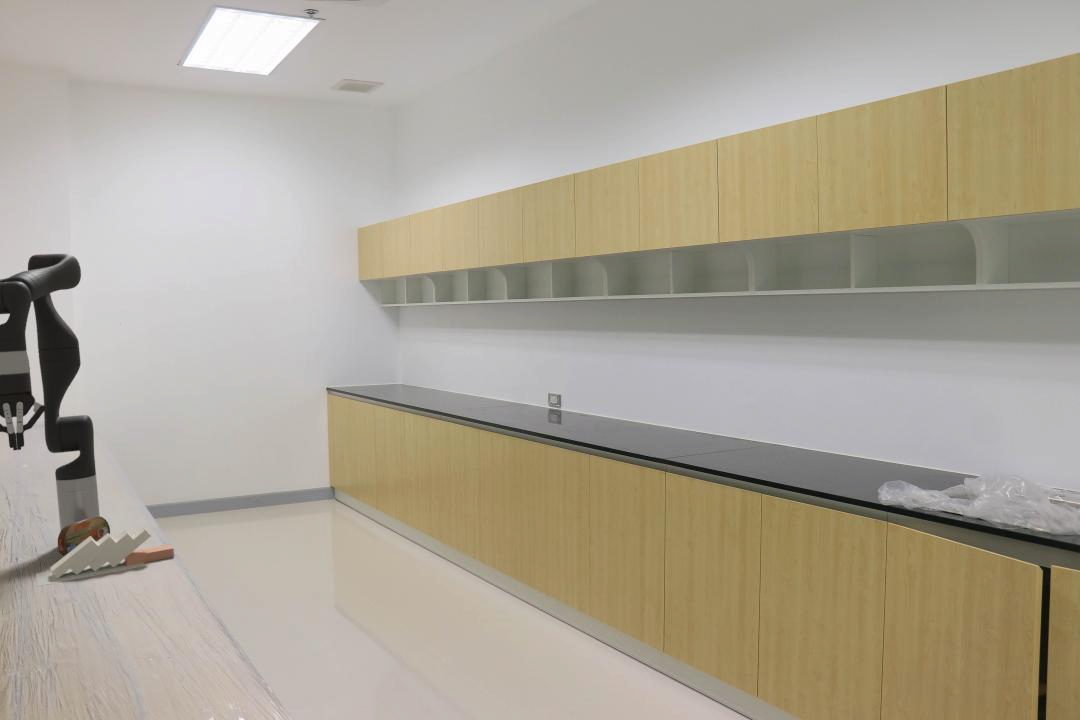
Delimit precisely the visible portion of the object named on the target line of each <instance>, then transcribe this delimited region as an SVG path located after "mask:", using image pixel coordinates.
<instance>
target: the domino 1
mask: <svg viewBox="0 0 1080 720" xmlns="http://www.w3.org/2000/svg"><path fill="white" fill-rule="evenodd" d="M97 547H98V545H97V542H96V541H95V540H94V539H93V538H92V537H91V536H90V537H88V538H87V539H86V540H84V541H83V542H82V543H81V544H79V545H78V546H77V547H76V548H74V549H73V550H72V551H71V552H69V553H68V554H67V555H66V556H64V557H63V556H62V558H60V559H59V560H58V561H57V562H55V563H53V565H51V566H50V571H51V573H52V574H53V575H54V576H55V577H56V578H57V579H58V578H59V577H60V576H62V575H63V574H64V573H65V572H67V571H68V570H69V569H70V568H72V567H73V566H74V565H75V564H77V563H78V562H79V561H80V560H82V559H83V558H84V557H85V556H87V555H88V554H89V553H90V552H92V551H93V550H94V549H95V548H97Z"/></svg>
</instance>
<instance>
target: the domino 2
mask: <svg viewBox="0 0 1080 720" xmlns="http://www.w3.org/2000/svg"><path fill="white" fill-rule="evenodd" d="M114 539H115V538H114V537H113V536H112V535H111V533H110V534H109V533H107V534H106V535H105V536H103V537H102V538H101V539H100V540H98V541H97V545H98V547H97V548H95V549H94V550H93V551H92V552H90V553H89V554H88V555H87V556H85V557H84V558H83V559H82V560H80V561H79V562H78V563H77V564H75V565H74V566H73V567H72V568H70V569H71V570H72V571H73V572H74V573H75V574H76V575H77V574H79V573H80V572H81V571H82V570H84V569H85V568H86V567H87V566H88V565H90V564H91V563H92V562H93V561H95V560H96V559H97V558H98V557H99V556H101V555H102V554H103V553H104V552H106V551H107V550H108V549H109V548H110V547H112V546H113V545H114V544H115V543H116V542H115V540H114Z"/></svg>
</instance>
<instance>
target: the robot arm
mask: <svg viewBox="0 0 1080 720" xmlns="http://www.w3.org/2000/svg"><path fill="white" fill-rule="evenodd" d="M81 270H82V268H81V266H80V262H79V260H78V258H76V257H75V256H74V255H73V254H68V253H46V254H42V253H41V254H33V255H32V256H30V257H29V259H28V262H27V270H23V271H20V272H18V273H16V274H13V275H11V276H10V277H9V276H8V277H5V278H2V279H0V315H9V316H8V318H7V320H6V322H4V323H1V324H0V417H2V418H3V419H5V420H4V421H5V424H6V425H5V426H4V425H2V423H0V433H5V434H7V437H8V444H9V445H8V446H9V448H10V449H12V450H13V451H21V450H22V448H23V447H24V446H25V437H24V436H25V434H24V433H25V432H26V431H28V430H30V429H32V428H33V427H34V426H35V424H36V423H37V422H38V420H39V419H40V418H41V416H42V415H43V418H44V421H43V422H44V438H45V445H46V448H47V450H48V451H49V452H50V453H52V454H58V453H59V454H60V453H69V452H71V453H72V452H77V451H78V452H79V455H78V457H76V458H75V459H73V460H72V461H70V462H69V463H66V464H63V465H61V466H59V467H57V468H56V469H55V473H54V474H55V483H56V485H55V487H56V493H57V495H56V496H57V507H58V508H57V509H58V518H59V527H60V529H59V530H60V531H59V532H61V530H62V529H63V528H64V527H66V526H68V525H71V524H74V523H77V522H79V521H82V520H85V519H88V518H93V517H101V516H100V514H101V513H100V504H99V494H98V492H99V491H98V480H97V471H96V459H95V445H94V444H95V439H94V438H95V433H94V423H93V421H92V419H91V417H90V415H86V414H81V415H71V416H70V415H68V416H60V408H61V404H62V401H63V399H64V396H65V395H66V393H67V391H68V389H69V387H70V386H71V385H72V382H73V381H74V379H75V377H76V376H77V374H78V372H79V370H80V368H81V351H80V343H79V339H78V337H77V336H76V334H75V332H74V331H73V329H72V328H71V327H70V326H69V324H67V323H66V321H65V320H64V319H63V317H62V316H61V315H60V314H59V312H58V311H57V309H56V307H55V306H54V303H53V300H52V296H51V294H52V293H54V292H57V291H61V290H64V291H65V290H66V291H67V290H70V289H74V288H76V287H77V286H78V285H79V284H80V282H81V278H82V271H81ZM32 304H33V310H34V317H35V324H36V335H37V351H38V352H37V353H38V362H39V369H40V375H41V384H42V385H41V386H42V392H43V404H41V403H39V402H37V401H36V398H35V396H34V395H33V390H32V380H31V379H32V378H31V367H30V360H29V355H28V350H27V349H28V348H27V340H26V339H27V338H26V331H27V330H26V329H27V325H28V324H27V322H28V318H29V313H30V309H31V306H32ZM31 409H33V410H32V411H33V412H34V413H33V415H32V416H31V417H30V418H29V420H28V421H27V422H26V423H24V417H25V416H26V415H27V414H28V413H29V411H30V410H31ZM13 418H16V432H15V427H14V421H13Z"/></svg>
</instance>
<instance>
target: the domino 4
mask: <svg viewBox="0 0 1080 720" xmlns="http://www.w3.org/2000/svg"><path fill="white" fill-rule="evenodd" d="M130 535H131V534H130ZM131 536H132V538H133V541H132V542H130V543H129V544H128V545H127V546H125V547H124V548H123V549H122V550H121V551H119V552H118V553H117V554H116V555H115V556H113V557H112V558H111V559H110V560H109V561H107V562H108V563H109V564H110V565H111V566H112V567H113V568H114V567H115V566H116V565H117V564H118V563H120V562H121V561H122V560H123V559H124V558H126V557H127V556H128V555H129V554H130V553H132V552H133V551H136V550H137V549H138V548H139V547H140V546H141V545H142V544H144V543H145V542H146V541H147V540H148V539H150V538H152V535H151V533H150V532H149V531H148V529H146V528H145V527H144V526H143V525H142V526H141V527H140V528H138V529H137V530H136V531H135V532H134V533H133V534H132V535H131Z"/></svg>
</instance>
